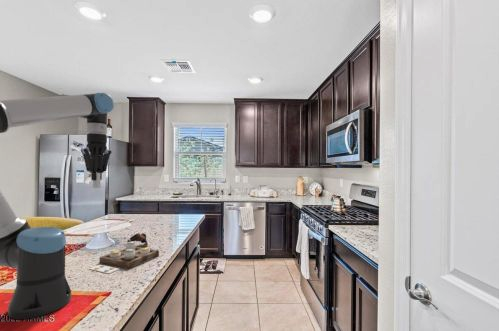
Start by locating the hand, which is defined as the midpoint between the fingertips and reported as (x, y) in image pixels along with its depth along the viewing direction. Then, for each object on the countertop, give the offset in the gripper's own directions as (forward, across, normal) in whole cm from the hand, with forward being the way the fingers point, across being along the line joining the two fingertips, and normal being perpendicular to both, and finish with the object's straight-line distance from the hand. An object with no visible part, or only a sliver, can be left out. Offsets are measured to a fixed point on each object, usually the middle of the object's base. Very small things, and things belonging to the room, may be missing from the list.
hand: (96, 187), depth 110 cm
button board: (+34, +13, -6) cm, 37 cm away
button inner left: (+34, +9, -2) cm, 35 cm away
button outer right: (+34, +18, -10) cm, 40 cm away
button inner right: (+32, +8, -10) cm, 35 cm away
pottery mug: (+35, +30, +6) cm, 46 cm away
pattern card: (+34, 0, -6) cm, 35 cm away
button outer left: (+32, +17, -1) cm, 36 cm away
